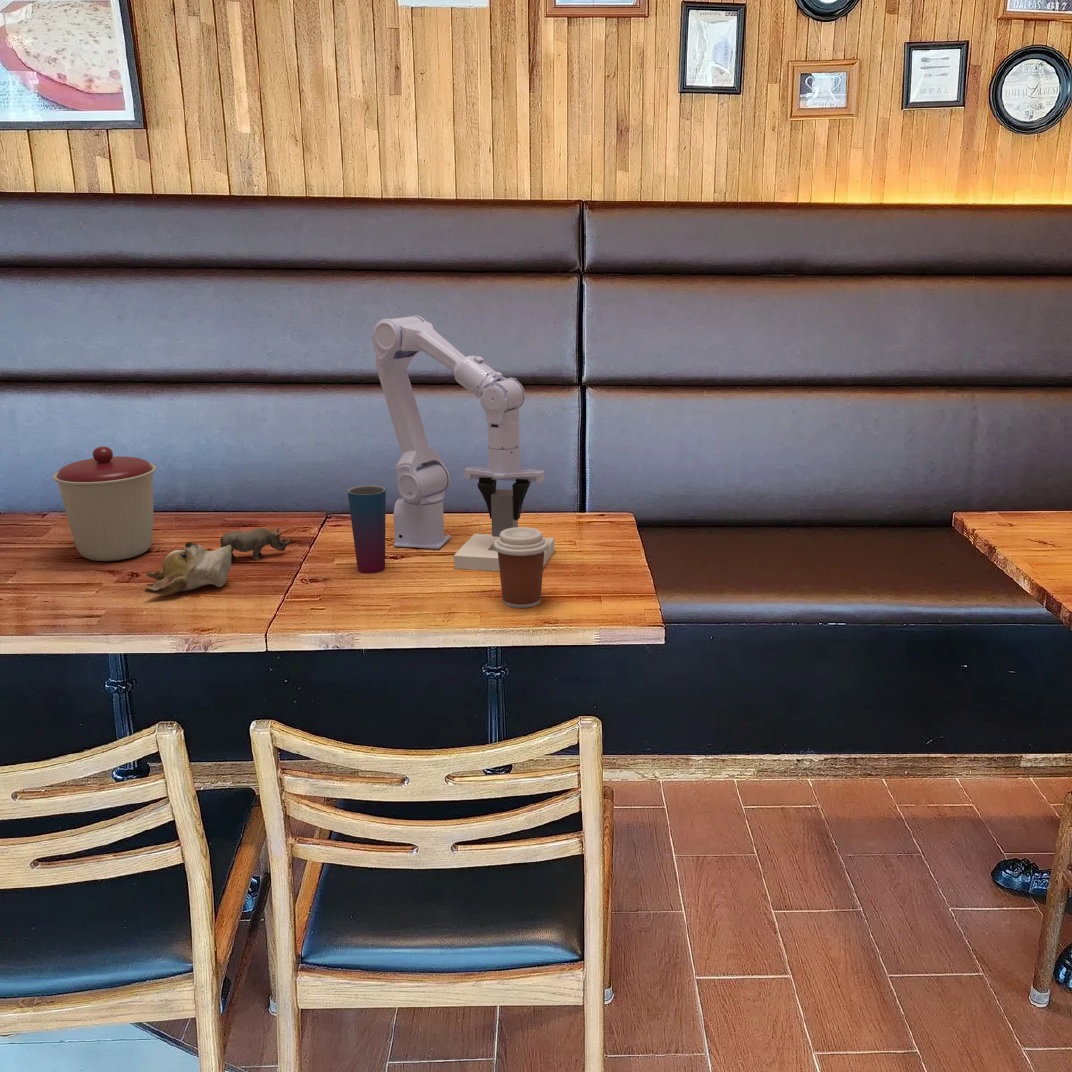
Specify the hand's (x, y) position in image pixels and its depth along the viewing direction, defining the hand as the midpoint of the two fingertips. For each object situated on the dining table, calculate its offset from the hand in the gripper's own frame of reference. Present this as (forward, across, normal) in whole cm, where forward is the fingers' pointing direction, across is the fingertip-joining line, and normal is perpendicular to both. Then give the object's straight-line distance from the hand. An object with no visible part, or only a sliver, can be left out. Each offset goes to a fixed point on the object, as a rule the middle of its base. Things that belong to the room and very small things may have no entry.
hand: (505, 518), depth 188 cm
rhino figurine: (+8, -47, -8) cm, 48 cm away
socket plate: (+8, 0, 0) cm, 8 cm away
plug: (+3, 0, 0) cm, 3 cm away
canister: (+8, -75, -11) cm, 76 cm away
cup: (+8, -23, -10) cm, 26 cm away
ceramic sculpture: (+8, -50, -26) cm, 57 cm away
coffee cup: (+8, +8, -21) cm, 24 cm away
